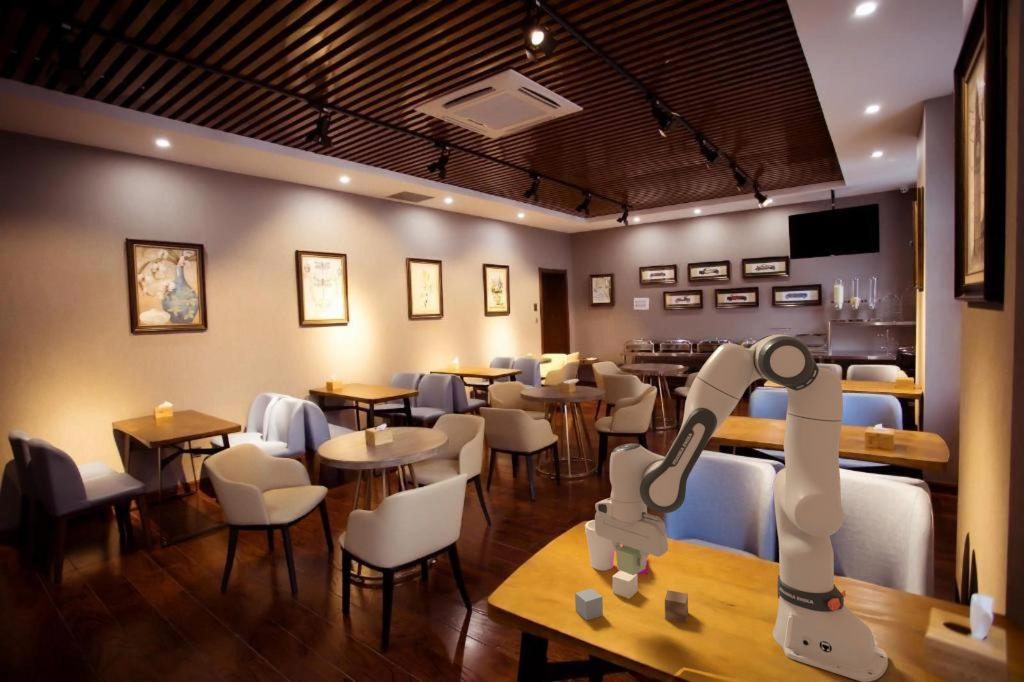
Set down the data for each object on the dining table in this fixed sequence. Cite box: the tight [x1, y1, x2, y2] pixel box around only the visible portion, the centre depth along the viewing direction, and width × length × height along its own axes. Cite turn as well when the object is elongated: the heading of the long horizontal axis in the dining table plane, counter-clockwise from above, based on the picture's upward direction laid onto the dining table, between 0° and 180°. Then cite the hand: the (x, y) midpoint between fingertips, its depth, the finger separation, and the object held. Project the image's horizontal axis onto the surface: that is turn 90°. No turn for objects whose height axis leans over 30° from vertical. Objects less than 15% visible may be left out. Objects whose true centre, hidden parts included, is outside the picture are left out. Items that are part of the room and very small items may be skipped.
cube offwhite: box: [611, 570, 639, 600], centre depth 149 cm, size 5×5×5 cm
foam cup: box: [584, 519, 616, 572], centre depth 164 cm, size 10×9×13 cm
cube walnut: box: [664, 589, 689, 624], centre depth 137 cm, size 5×5×5 cm
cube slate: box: [574, 588, 604, 621], centre depth 139 cm, size 5×5×5 cm
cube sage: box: [616, 546, 646, 575], centre depth 137 cm, size 5×5×5 cm
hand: (631, 562), depth 137 cm, fingers closed on cube sage, 5 cm apart
